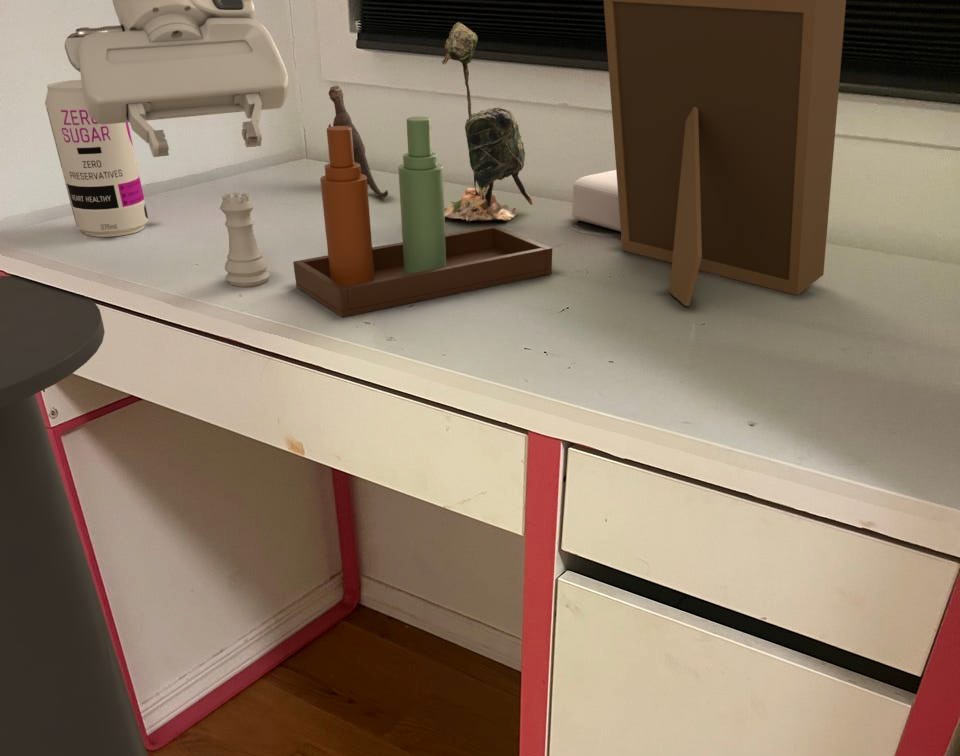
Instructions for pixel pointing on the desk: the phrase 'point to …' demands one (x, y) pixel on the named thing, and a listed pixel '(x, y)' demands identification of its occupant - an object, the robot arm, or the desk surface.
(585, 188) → the charger
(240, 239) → the rook chess piece
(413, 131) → the sage bottle
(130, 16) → the robot arm
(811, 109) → the photo frame
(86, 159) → the supplement can
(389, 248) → the tray
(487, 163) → the plant with pod
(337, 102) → the dinosaur model
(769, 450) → the desk surface
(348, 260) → the amber bottle
